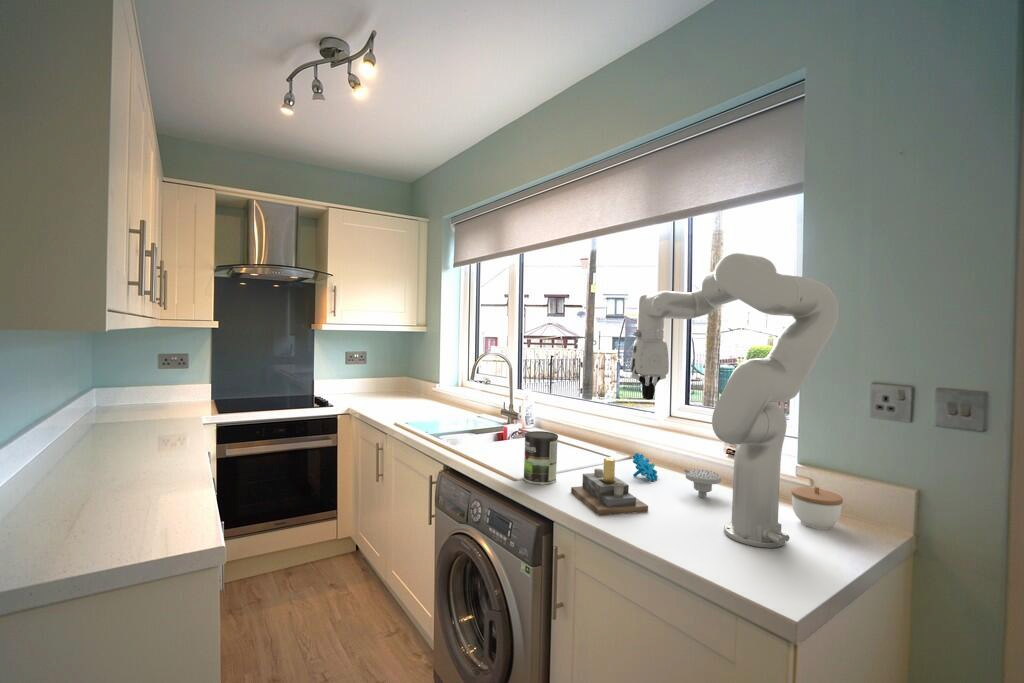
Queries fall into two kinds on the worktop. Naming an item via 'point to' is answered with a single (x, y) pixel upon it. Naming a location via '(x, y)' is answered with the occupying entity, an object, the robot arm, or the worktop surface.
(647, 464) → the gear
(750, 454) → the robot arm
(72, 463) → the worktop surface
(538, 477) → the coffee can
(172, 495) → the worktop surface
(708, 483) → the showerhead
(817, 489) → the lidded jar
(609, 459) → the brass pin
